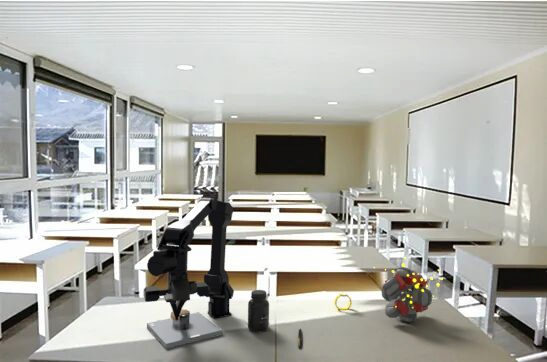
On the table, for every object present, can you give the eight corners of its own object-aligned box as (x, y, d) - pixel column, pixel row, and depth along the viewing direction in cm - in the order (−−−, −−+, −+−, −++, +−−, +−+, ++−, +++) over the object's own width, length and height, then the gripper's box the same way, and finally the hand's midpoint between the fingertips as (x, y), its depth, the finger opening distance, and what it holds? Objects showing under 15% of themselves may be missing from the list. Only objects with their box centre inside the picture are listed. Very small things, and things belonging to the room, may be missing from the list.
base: (198, 316, 147) (198, 306, 146) (222, 334, 132) (222, 323, 131) (146, 327, 137) (146, 317, 137) (166, 349, 122) (166, 337, 121)
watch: (349, 308, 156) (350, 292, 156) (351, 311, 153) (352, 295, 153) (333, 307, 156) (334, 291, 155) (335, 310, 153) (336, 294, 152)
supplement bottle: (266, 333, 133) (266, 296, 132) (245, 331, 134) (245, 294, 133) (270, 325, 139) (271, 289, 139) (250, 323, 141) (250, 288, 140)
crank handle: (169, 314, 138) (169, 302, 138) (188, 312, 140) (188, 300, 140) (174, 331, 125) (174, 318, 124) (195, 328, 127) (195, 315, 126)
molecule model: (413, 341, 127) (415, 267, 126) (357, 321, 143) (358, 255, 142) (453, 320, 144) (454, 255, 143) (398, 304, 159) (400, 245, 158)
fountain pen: (298, 329, 136) (298, 325, 136) (301, 330, 136) (302, 325, 136) (297, 350, 122) (297, 345, 122) (301, 350, 122) (301, 345, 122)
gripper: (147, 277, 114) (147, 334, 115) (215, 272, 122) (213, 326, 122) (143, 267, 125) (142, 319, 125) (205, 263, 132) (204, 312, 133)
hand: (176, 319), depth 126 cm, fingers closed
